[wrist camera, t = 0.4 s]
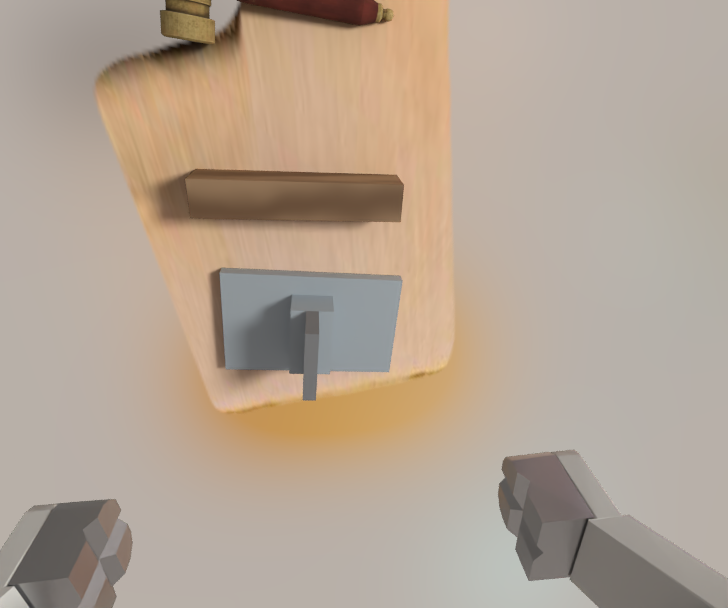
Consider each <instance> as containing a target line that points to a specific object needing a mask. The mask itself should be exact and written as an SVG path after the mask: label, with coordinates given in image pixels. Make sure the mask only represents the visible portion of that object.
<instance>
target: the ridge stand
mask: <svg viewBox="0 0 728 608" xmlns="http://www.w3.org/2000/svg"><path fill="white" fill-rule="evenodd" d="M220 288H221V304H222V319H223V335H224V350H225V366H226V369H240V370H289V374H304V377H303V400H316V386H317V374H330V371H359V372H389V369H390V362H391V355H392V349H393V342H394V335H395V328H396V321H397V315H398V308H399V301H400V294H401V288H402V278H401V276H393V275H371V274H349V273H327V272H304V271H282V270H260V269H238V268H222V269H221V271H220Z"/></svg>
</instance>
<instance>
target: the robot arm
mask: <svg viewBox="0 0 728 608" xmlns="http://www.w3.org/2000/svg"><path fill="white" fill-rule="evenodd" d="M502 471H503V474H504V475H505V479H503V481H502V482H500V483H499V491H498V497H499V506H500V510H501V514H502V518H503V520H504V523H505V525H506V528H507V529H508V530H509V531H510V532H511V533H513V534H514V535H515V536H516V537H518V538H517V543H516V549H515V550H516V552H517V554H518V556H519V559H520V561H521V564H522V566H523V569H524V571H525V573H526V576H527V578H528V580H529V581H533V580H544V579H555V578H565V577H570V580H571V581H572V582H573V583H574V584H575V585H576V586H577V587H578V588H579V589H580V590H581V591H582V592H583V593H584V594H585V595H586V596H587V597H589V598H590V599H591V600H592V601H593V602H594V603H595V604H596V605H597V606H598V607H599V608H728V578H726V577H725V576H723V575H722V574H720V573H718V572H717V571H715V570H714V569H713V568H711V567H709V566H708V565H706V564H705V563H703V562H702V561H700V560H699V559H697V558H695V557H694V556H692V555H691V554H689V553H688V552H686V551H685V550H683V549H681V548H680V547H678V546H677V545H675V544H674V543H672V542H671V541H669V540H668V539H666V538H664V537H663V536H661V535H660V534H658V533H656V532H655V531H653V530H652V529H650V528H649V527H647V526H646V525H644V524H643V523H641V522H640V521H638V520H636V519H635V518H633V517H632V516H630V515H621V513H620V512H619V511H618V509H617V507H616V506H615V504H614V503H613V502H612V500H611V499H610V497H609V496H608V494H607V493H606V491H605V490H604V489H603V487H602V486H601V484H600V483H599V482H598V480H597V478H596V477H595V476H594V474H593V473H592V471H591V470H590V468H589V467H588V465H587V464H586V463H585V461H584V460H583V458H582V457H581V455H580V454H579V453H578V452H577V451H575V450H566V451H556V452H544V453H535V454H527V455H518V456H510V457H506V458H505V459H504V460H503V464H502ZM120 512H121V509H120V507H119V505H118V503H117V501H116V499H108V500H95V501H84V502H83V501H82V502H70V503H59V504H48V505H37V506H33V507H32V508H30V509H29V510H28V511H27V512H26V513H25V514H24V515H23V516H22V518H21V520H20V521H19V523H18V524H17V526H16V527H15V529H14V530H13V532H12V533H11V535H10V537H9V538H8V540H7V541H6V542H5V544H4V546H3V547H2V549H1V550H0V608H112V607H113V605H114V602H115V599H116V594H115V591H114V588H113V585H114V584H115V583H116V582H117V581H118V580H119V579H120V578H121V577H122V576H123V575H124V574H125V573H126V570H127V567H128V564H129V561H130V557H131V551H132V535H131V530H130V528H129V526H128V524H127V523H125V522H123V521H122V520H120V519H118V516H119V514H120Z"/></svg>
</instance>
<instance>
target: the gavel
mask: <svg viewBox="0 0 728 608" xmlns="http://www.w3.org/2000/svg"><path fill="white" fill-rule="evenodd" d="M165 1H166V10H160V15H161V16H160V18H161V33H162V35H164V36H166V37H172V38H177V39H183V40H188V41H194V42H200V43H206V44H214V43H215V21H214V20H212V19H209V7H210V6H211V0H165ZM237 1H240V2H243V3H247V4H252V5H257V6H262V7H268V8H273V9H278V10H283V11H288V12H293V13H298V14H304V15H309V16H314V17H319V18H324V19H329V20H334V21H340V22H345V23H350V24H355V25H363V24H369V23H374V22H376V23H379V22H380V21H381V19H384V20H385V21H391V20H392V18H393V11H392V10H391V9H386V10H384V9H383V6H382V4H380V3H377V2H376V1H374V0H237Z"/></svg>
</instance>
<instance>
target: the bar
mask: <svg viewBox="0 0 728 608" xmlns="http://www.w3.org/2000/svg"><path fill="white" fill-rule="evenodd" d="M185 183H186V190H187V197H188V205H189V212H190V218H205V219H259V220H313V221H367V222H401V212H402V201H403V190H404V184H403V183H402V182H401V180H400V179H399V177H398V176H397V175H381V174H348V173H314V172H281V171H248V170H215V169H195V170H194V171H193V172H192V173H191V174H190V175H189V176H188V177H187V178H185Z"/></svg>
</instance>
